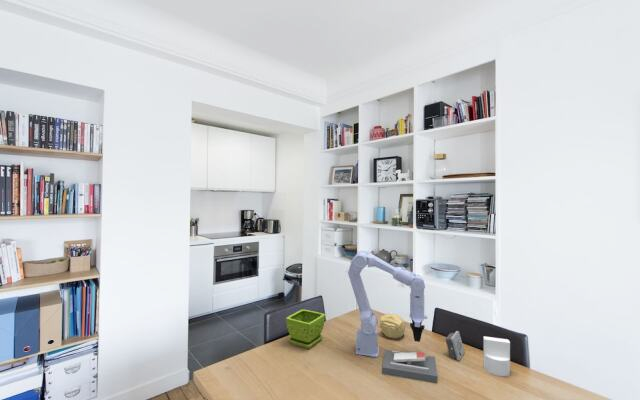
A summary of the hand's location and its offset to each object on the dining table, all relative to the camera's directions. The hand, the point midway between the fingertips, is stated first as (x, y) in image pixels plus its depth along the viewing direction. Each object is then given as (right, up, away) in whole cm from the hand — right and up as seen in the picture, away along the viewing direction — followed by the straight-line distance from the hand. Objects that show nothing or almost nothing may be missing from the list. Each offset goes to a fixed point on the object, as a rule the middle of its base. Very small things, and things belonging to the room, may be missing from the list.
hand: (417, 336), depth 125 cm
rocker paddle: (-5, -5, -7) cm, 10 cm away
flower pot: (-48, -10, +15) cm, 51 cm away
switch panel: (-5, -9, -7) cm, 13 cm away
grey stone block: (+18, -10, +3) cm, 20 cm away
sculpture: (-5, -10, +21) cm, 24 cm away
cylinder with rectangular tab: (+29, -10, -8) cm, 31 cm away
